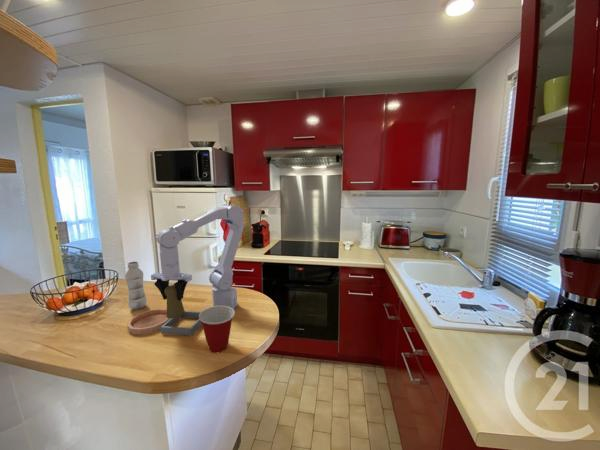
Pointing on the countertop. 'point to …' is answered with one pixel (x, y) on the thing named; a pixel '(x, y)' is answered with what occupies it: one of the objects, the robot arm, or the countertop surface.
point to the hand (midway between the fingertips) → (173, 298)
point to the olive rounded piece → (173, 303)
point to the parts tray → (179, 330)
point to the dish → (148, 321)
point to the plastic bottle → (135, 286)
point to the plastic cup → (217, 326)
